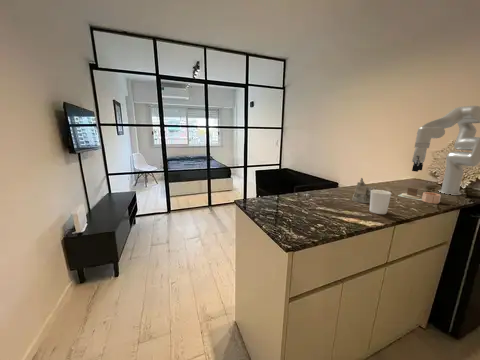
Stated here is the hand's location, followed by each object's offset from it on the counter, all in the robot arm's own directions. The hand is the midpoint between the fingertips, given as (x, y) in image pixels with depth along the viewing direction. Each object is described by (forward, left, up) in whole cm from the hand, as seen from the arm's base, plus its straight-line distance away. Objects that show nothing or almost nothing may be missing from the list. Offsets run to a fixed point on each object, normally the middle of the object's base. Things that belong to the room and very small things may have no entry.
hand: (416, 170), depth 143 cm
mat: (0, 0, -19) cm, 19 cm away
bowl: (+5, +11, -19) cm, 23 cm away
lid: (0, 0, -19) cm, 19 cm away
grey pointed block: (+33, -18, -20) cm, 42 cm away
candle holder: (+51, -4, -20) cm, 55 cm away
